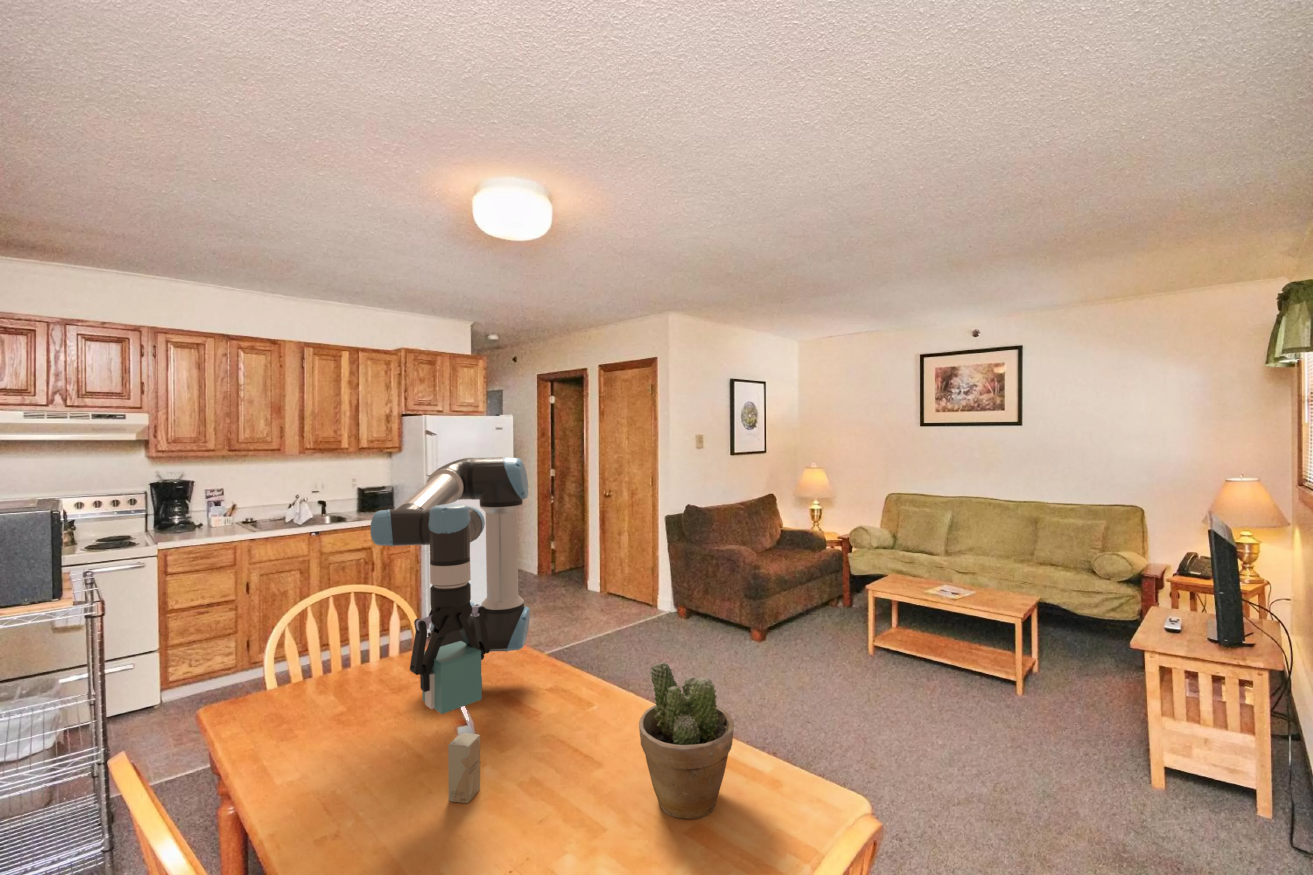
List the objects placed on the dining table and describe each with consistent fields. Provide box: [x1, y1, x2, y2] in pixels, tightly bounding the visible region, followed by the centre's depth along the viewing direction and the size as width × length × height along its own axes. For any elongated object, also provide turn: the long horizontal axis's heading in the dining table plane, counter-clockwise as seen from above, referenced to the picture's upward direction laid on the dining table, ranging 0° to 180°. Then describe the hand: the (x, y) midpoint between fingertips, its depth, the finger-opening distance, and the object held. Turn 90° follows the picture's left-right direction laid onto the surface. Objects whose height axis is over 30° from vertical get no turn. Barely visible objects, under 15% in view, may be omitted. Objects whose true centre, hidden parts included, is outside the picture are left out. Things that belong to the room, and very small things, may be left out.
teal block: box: [421, 641, 483, 715], centre depth 115 cm, size 8×8×10 cm
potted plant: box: [638, 661, 735, 820], centre depth 113 cm, size 18×19×25 cm
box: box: [447, 732, 481, 804], centre depth 115 cm, size 5×4×11 cm
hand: (452, 698), depth 115 cm, fingers closed on teal block, 8 cm apart
